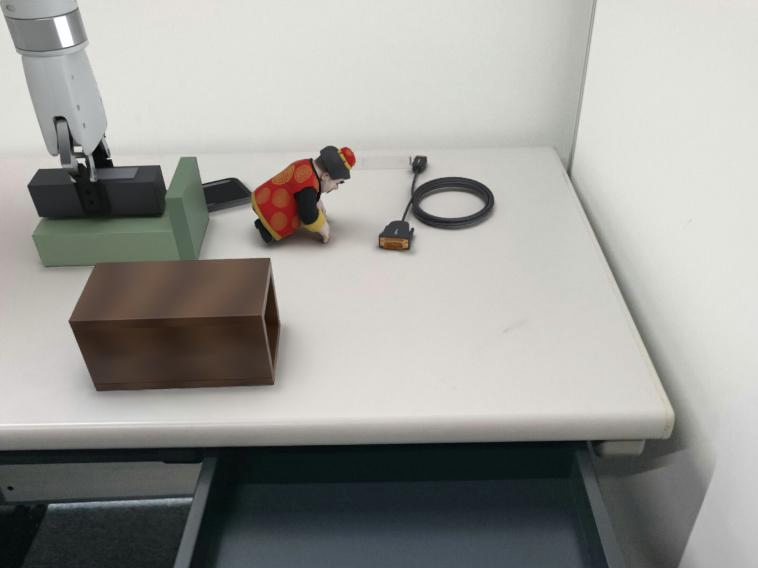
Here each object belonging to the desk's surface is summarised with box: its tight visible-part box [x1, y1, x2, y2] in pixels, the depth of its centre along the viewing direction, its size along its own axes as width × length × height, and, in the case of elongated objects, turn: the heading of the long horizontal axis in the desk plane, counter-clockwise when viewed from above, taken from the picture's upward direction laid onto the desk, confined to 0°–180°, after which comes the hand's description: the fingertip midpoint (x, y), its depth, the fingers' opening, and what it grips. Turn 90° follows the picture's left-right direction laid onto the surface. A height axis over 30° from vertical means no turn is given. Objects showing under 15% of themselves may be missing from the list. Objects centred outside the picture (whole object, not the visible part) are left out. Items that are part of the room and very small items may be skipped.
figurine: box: [251, 145, 357, 245], centre depth 93 cm, size 10×10×15 cm
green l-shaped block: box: [31, 156, 210, 267], centre depth 92 cm, size 19×12×8 cm, turn 93°
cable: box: [378, 154, 496, 250], centre depth 100 cm, size 14×28×2 cm, turn 169°
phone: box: [202, 176, 253, 214], centre depth 102 cm, size 8×1×15 cm
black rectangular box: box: [26, 164, 168, 218], centre depth 90 cm, size 15×5×4 cm, turn 93°
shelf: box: [68, 257, 282, 392], centre depth 74 cm, size 18×11×8 cm, turn 93°
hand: (102, 201), depth 91 cm, fingers closed on black rectangular box, 5 cm apart
